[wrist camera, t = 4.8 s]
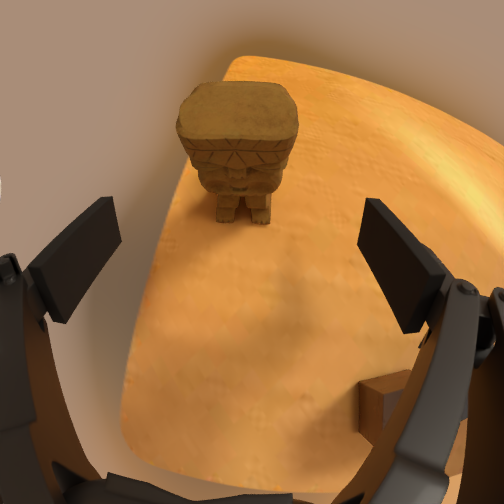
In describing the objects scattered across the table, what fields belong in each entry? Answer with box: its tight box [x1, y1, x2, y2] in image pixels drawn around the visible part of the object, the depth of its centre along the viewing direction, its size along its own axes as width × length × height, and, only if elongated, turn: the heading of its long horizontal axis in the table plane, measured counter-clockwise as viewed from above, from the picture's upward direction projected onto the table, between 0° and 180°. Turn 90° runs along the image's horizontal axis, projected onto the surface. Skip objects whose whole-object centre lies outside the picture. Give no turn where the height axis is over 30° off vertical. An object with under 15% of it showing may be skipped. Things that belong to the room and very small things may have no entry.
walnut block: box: [359, 370, 411, 446], centre depth 21 cm, size 6×6×6 cm
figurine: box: [176, 81, 299, 224], centre depth 22 cm, size 7×6×15 cm
